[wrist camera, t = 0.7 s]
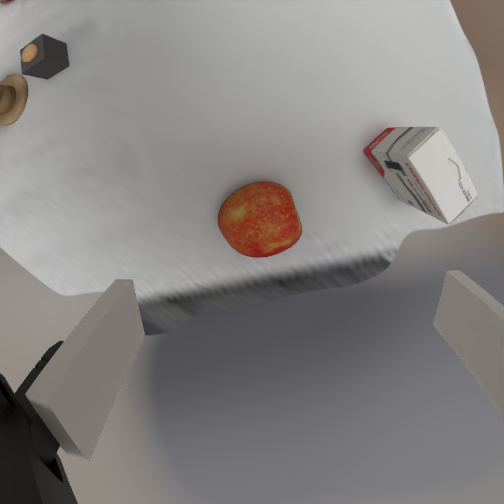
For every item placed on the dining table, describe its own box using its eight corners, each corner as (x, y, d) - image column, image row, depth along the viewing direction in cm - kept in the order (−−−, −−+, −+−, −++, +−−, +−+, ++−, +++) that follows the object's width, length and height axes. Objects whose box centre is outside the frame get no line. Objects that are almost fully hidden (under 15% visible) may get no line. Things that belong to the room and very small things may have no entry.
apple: (300, 234, 37) (312, 258, 29) (234, 252, 37) (229, 279, 30) (284, 170, 34) (293, 177, 27) (215, 189, 35) (204, 202, 27)
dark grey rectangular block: (45, 57, 28) (16, 49, 21) (66, 43, 27) (38, 32, 21) (47, 79, 29) (18, 73, 23) (69, 66, 29) (40, 56, 22)
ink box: (361, 151, 33) (407, 155, 22) (387, 126, 32) (440, 123, 21) (400, 203, 35) (451, 228, 24) (424, 179, 34) (481, 196, 23)
